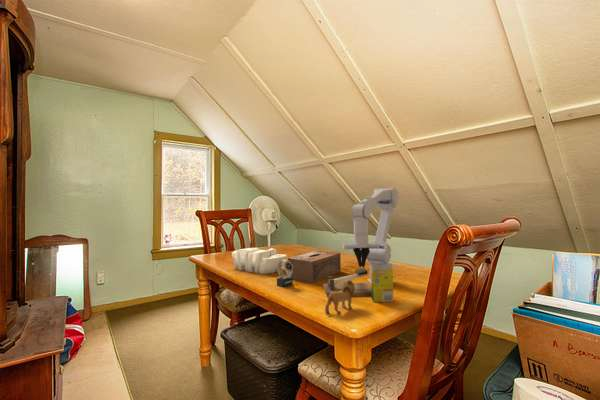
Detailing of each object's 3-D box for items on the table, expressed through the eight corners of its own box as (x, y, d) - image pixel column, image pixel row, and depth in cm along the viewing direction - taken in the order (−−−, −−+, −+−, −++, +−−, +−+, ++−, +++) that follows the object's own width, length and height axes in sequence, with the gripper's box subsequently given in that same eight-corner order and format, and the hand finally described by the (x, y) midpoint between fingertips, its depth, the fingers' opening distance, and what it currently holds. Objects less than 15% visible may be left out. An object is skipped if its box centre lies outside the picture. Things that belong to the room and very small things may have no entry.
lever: (329, 286, 112) (329, 271, 112) (327, 282, 117) (327, 269, 117) (368, 285, 112) (368, 270, 112) (365, 281, 117) (365, 268, 117)
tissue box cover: (317, 268, 156) (317, 250, 156) (340, 271, 147) (340, 252, 147) (287, 278, 135) (287, 258, 135) (312, 283, 126) (312, 261, 126)
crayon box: (391, 299, 105) (390, 267, 105) (393, 301, 102) (393, 269, 102) (371, 299, 105) (370, 268, 105) (373, 302, 102) (373, 270, 102)
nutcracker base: (367, 286, 121) (367, 273, 121) (375, 295, 109) (375, 281, 109) (323, 287, 120) (323, 274, 120) (327, 296, 108) (326, 282, 108)
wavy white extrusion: (224, 267, 160) (224, 249, 160) (246, 262, 173) (246, 245, 173) (270, 276, 139) (270, 255, 139) (290, 269, 152) (290, 250, 152)
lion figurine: (345, 302, 102) (345, 277, 102) (358, 305, 99) (358, 280, 99) (320, 314, 91) (320, 286, 92) (334, 318, 88) (333, 290, 88)
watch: (286, 288, 120) (286, 262, 120) (274, 284, 125) (274, 259, 125) (295, 285, 124) (295, 260, 124) (283, 281, 129) (283, 257, 129)
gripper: (345, 234, 110) (345, 269, 110) (381, 234, 111) (382, 268, 111) (342, 232, 118) (342, 265, 117) (376, 232, 118) (376, 264, 118)
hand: (361, 266), depth 115 cm, fingers closed
